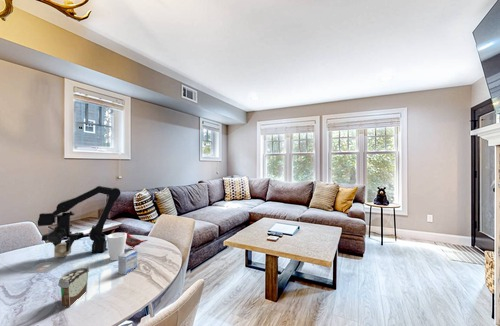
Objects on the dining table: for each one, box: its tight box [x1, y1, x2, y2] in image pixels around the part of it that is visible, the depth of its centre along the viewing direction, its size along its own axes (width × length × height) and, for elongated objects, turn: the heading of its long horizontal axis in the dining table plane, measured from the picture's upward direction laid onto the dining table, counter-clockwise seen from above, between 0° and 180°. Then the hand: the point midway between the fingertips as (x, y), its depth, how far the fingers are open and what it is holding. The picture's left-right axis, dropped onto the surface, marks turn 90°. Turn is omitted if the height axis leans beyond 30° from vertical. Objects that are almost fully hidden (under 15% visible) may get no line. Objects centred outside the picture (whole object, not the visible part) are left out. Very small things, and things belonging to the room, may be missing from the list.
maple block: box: [53, 241, 72, 258], centre depth 122 cm, size 4×6×6 cm
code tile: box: [21, 261, 66, 274], centre depth 110 cm, size 12×12×1 cm
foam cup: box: [106, 232, 127, 262], centre depth 123 cm, size 10×9×13 cm
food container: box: [57, 266, 90, 308], centre depth 85 cm, size 12×6×10 cm, turn 5°
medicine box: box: [117, 249, 138, 275], centre depth 109 cm, size 8×4×9 cm, turn 168°
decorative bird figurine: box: [125, 232, 148, 249], centre depth 136 cm, size 3×18×10 cm, turn 82°
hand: (62, 251), depth 122 cm, fingers closed on maple block, 4 cm apart
